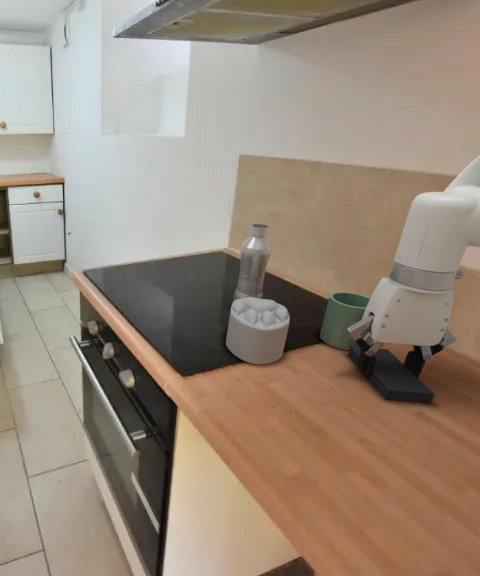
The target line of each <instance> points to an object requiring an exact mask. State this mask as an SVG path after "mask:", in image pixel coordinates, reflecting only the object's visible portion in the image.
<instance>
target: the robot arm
mask: <svg viewBox="0 0 480 576" xmlns="http://www.w3.org/2000/svg"><path fill="white" fill-rule="evenodd" d="M469 247H477V248H480V154H479V155H478V156H477V157H476V158H474V159H473V160H472V161H471V162H469V164H467V165H466V166H465V167H464V168H463V170H462V171H461V172H459V174H458V175H457V176H456V177H455V178H454V179H453V180H452V181H451V182H450V183H449V185H448V186H447V187H446V188H444V190H443V191H426V192H421V193H420V194H417V195H416V196H415V197H414V199H413V200H412V202H411V205H410V208H409V210H408V214H407V216H406V220H405V223H404V226H403V230H402V233H401V235H400V239H399V243H398V246H397V248H396V252H395V254H394V258H393V261H392V264H391V267H390V271H389V274H388V277H382V278H381V279H380V280H379V282H378V283H377V285H376V286H375V289H374V290H373V292H372V294H371V296H370V297H369V298H370V300H369V303H368V305H367V307H366V310H365V312H364V315H363V318H362V320H361V321H359V322H357V323H356V324H354V325H352V326H350V327H349V328H347V329H346V331H347V333H348V334H349V335H350V336H351V338H352V339H353V340H354V341H355V343H356V344H357V345H358V346H359V347H360V348H361V351H360V355H359V358H358V361H357V365H356V366H357V369H358V370H359V371H360V372H361V373H362V375H363V376H364V377H366V378H367V377H370V376H371V373H372V371H373V368H374V365H375V362H376V359H377V358H376V357H375V356H374V354H375V353H376V352H377V351H378V350H379V349H382V347H383V346H384V344H387V345H388V344H389V345H399V346H400V345H402V346H412V350H408V352H407V354H406V357H405V359H404V361H403V364H404V365H405V366H406V367H407V368H408V369H409V370H410V371H411V372H412V373H413V374H414V375H415V376H416V377H417V378H418V379H419V377H420V375H421V373H422V371H423V369H424V367H425V364H426V362H428V361H431V360H432V358H433V356H435V355H437V354H438V353H440V352H442V351H443V350H444V348H447V347H449V346H450V345H453V344H454V343H456V341H457V338H456V337H455V336H454V334H453V333H452V332H451V331H450V330H449V329H448V328H447V327H448V325H449V321H450V318H451V313H452V310H453V309H452V308H453V304H454V296H455V295H454V294H455V293H454V291H455V289H454V288H453V287H452V286H453V284H454V281H455V280H461V279H462V278H463V277H464V272H463V271H462V270H460V269H459V267H460V265H461V263H462V260H463V257H464V255H465V253H466V250H467V248H469ZM364 331H367V332H369V333H368V334H367V335H366V336H365V338H364V339H363V338H362V337H361V333H362V332H364Z"/></svg>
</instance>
